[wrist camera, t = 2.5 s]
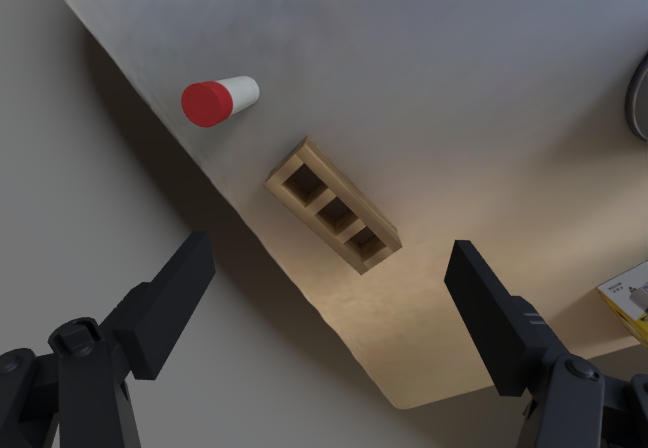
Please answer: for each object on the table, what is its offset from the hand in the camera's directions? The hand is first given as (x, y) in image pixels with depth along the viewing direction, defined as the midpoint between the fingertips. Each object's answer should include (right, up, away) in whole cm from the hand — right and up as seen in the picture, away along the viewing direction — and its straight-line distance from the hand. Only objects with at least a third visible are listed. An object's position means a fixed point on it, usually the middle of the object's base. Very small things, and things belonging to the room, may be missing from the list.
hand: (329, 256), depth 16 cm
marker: (-10, +19, +21) cm, 30 cm away
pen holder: (+1, +5, +28) cm, 29 cm away
